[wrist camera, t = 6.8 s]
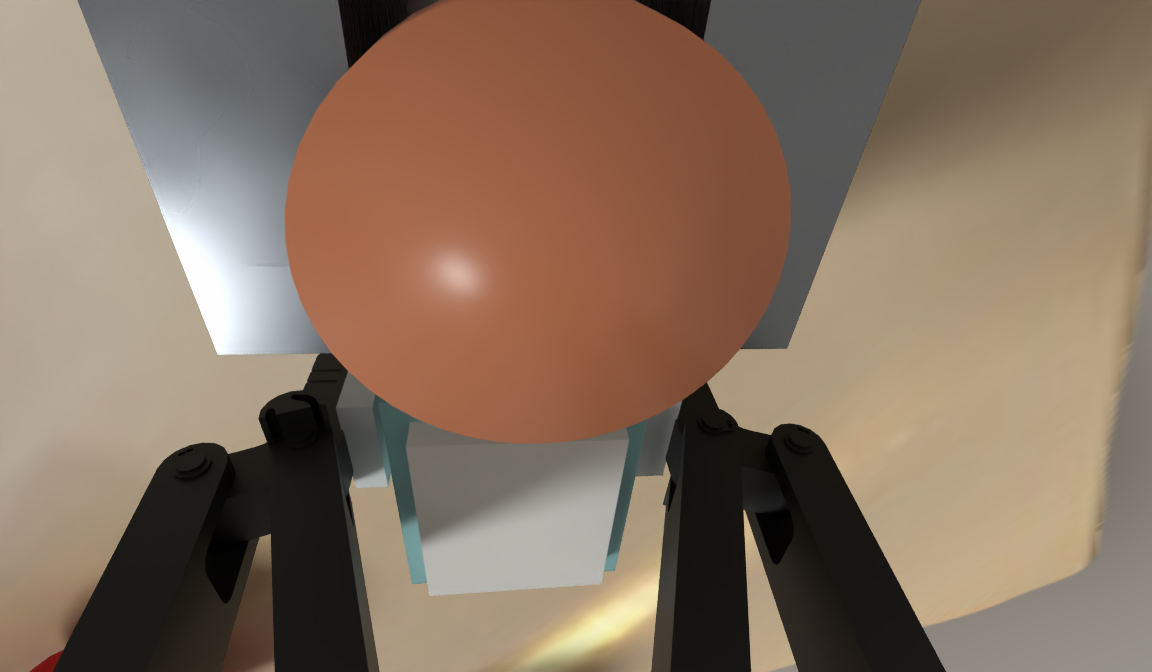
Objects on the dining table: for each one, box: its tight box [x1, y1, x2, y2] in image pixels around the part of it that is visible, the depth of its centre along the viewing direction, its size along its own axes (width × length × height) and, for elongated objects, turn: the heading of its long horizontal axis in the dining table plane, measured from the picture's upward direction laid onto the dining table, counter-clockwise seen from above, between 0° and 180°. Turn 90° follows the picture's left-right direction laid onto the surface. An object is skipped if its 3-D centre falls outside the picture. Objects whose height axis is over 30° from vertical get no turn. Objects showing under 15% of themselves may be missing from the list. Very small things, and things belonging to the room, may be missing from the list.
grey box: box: [78, 0, 921, 354], centre depth 11 cm, size 9×7×10 cm
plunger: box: [285, 0, 791, 444], centre depth 6 cm, size 3×3×6 cm
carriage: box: [378, 397, 648, 596], centre depth 15 cm, size 5×6×9 cm
